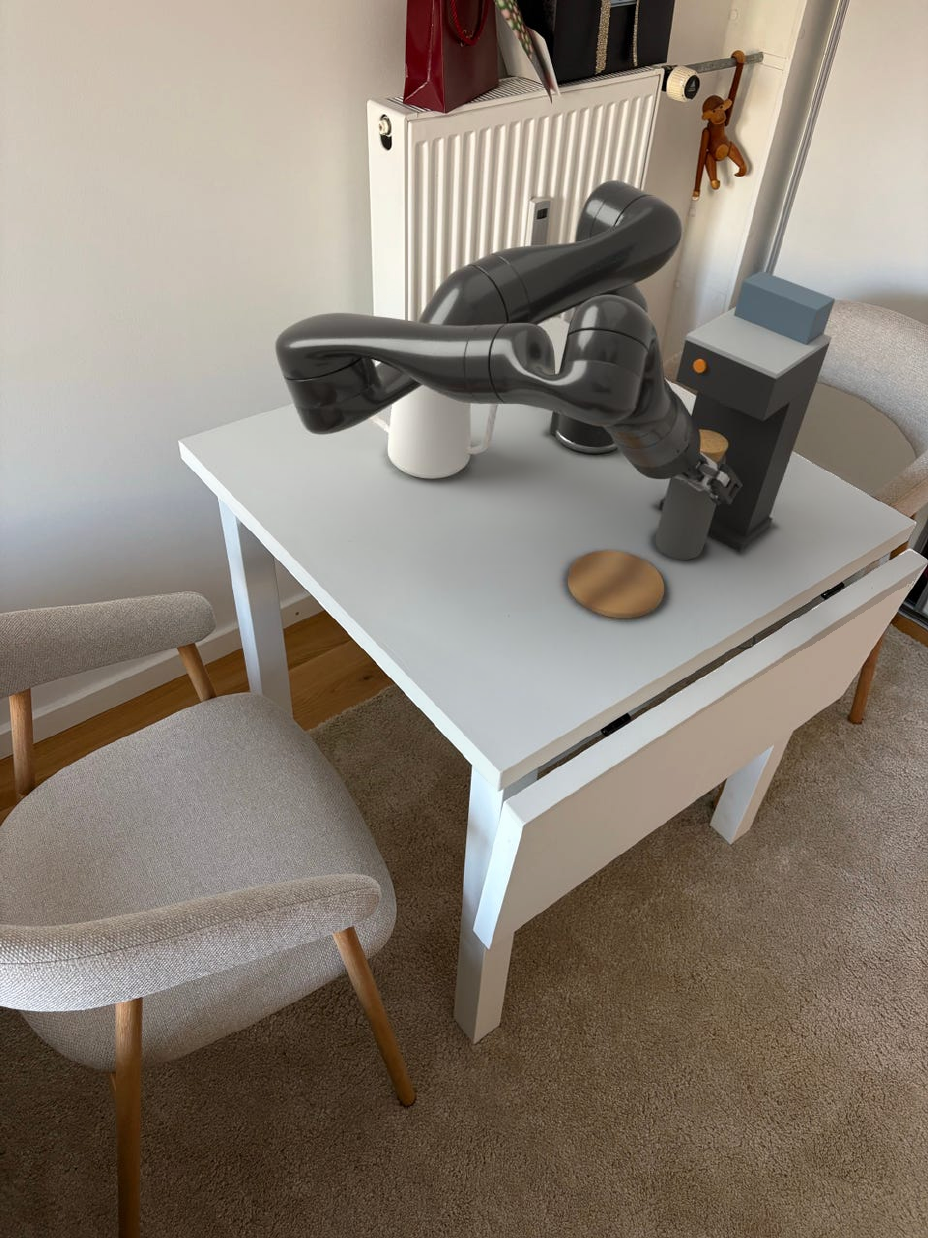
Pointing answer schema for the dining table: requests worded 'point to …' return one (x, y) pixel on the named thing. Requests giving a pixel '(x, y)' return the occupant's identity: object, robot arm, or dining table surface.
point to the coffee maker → (756, 391)
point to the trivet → (616, 584)
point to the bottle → (689, 508)
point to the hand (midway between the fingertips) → (690, 479)
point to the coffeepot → (431, 434)
